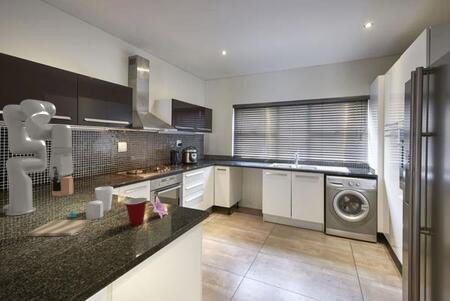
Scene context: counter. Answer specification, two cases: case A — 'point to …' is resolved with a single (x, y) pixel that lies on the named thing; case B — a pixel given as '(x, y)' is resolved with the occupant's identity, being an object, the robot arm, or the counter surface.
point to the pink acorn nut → (64, 186)
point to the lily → (159, 207)
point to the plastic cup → (136, 210)
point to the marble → (73, 214)
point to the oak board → (59, 228)
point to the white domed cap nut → (94, 210)
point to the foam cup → (104, 196)
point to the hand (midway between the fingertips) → (62, 188)
